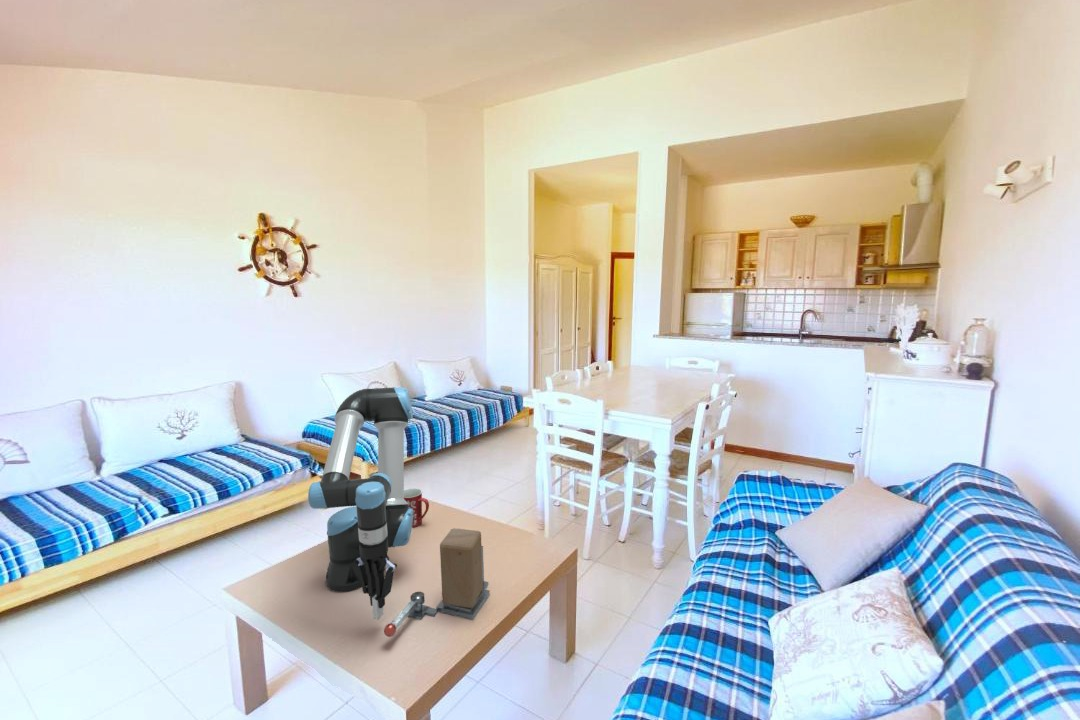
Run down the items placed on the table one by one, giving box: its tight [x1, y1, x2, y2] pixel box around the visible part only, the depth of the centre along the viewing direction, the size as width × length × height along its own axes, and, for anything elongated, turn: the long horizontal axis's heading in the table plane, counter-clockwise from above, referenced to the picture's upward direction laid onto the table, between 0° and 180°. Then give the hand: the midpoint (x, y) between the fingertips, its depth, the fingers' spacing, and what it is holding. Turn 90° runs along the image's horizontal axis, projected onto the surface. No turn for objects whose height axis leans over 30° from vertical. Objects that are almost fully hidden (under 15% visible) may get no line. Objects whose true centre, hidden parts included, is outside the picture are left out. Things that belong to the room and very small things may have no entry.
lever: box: [383, 591, 425, 638], centre depth 136 cm, size 4×17×3 cm, turn 162°
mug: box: [404, 487, 430, 528], centre depth 194 cm, size 13×9×14 cm
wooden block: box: [439, 527, 483, 608], centre depth 145 cm, size 10×10×20 cm
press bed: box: [407, 545, 491, 621], centre depth 147 cm, size 20×21×14 cm
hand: (378, 616), depth 135 cm, fingers closed
